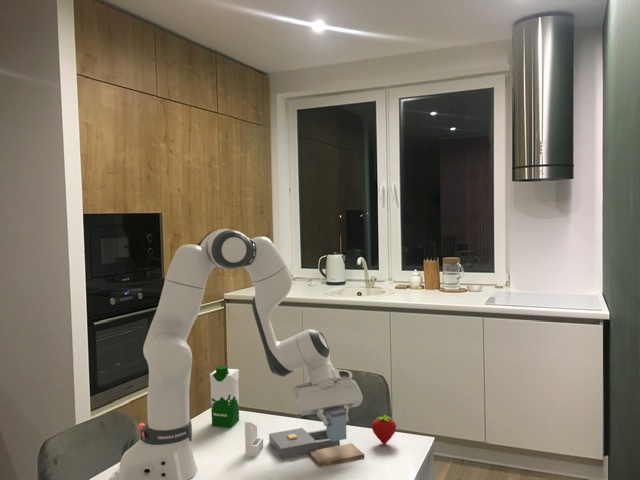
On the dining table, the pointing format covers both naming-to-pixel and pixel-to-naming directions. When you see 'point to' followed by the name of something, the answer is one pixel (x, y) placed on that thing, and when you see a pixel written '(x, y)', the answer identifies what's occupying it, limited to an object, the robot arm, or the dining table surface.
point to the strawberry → (384, 428)
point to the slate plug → (336, 424)
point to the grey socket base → (298, 442)
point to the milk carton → (224, 397)
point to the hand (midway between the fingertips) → (337, 423)
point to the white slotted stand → (252, 440)
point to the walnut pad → (336, 454)
